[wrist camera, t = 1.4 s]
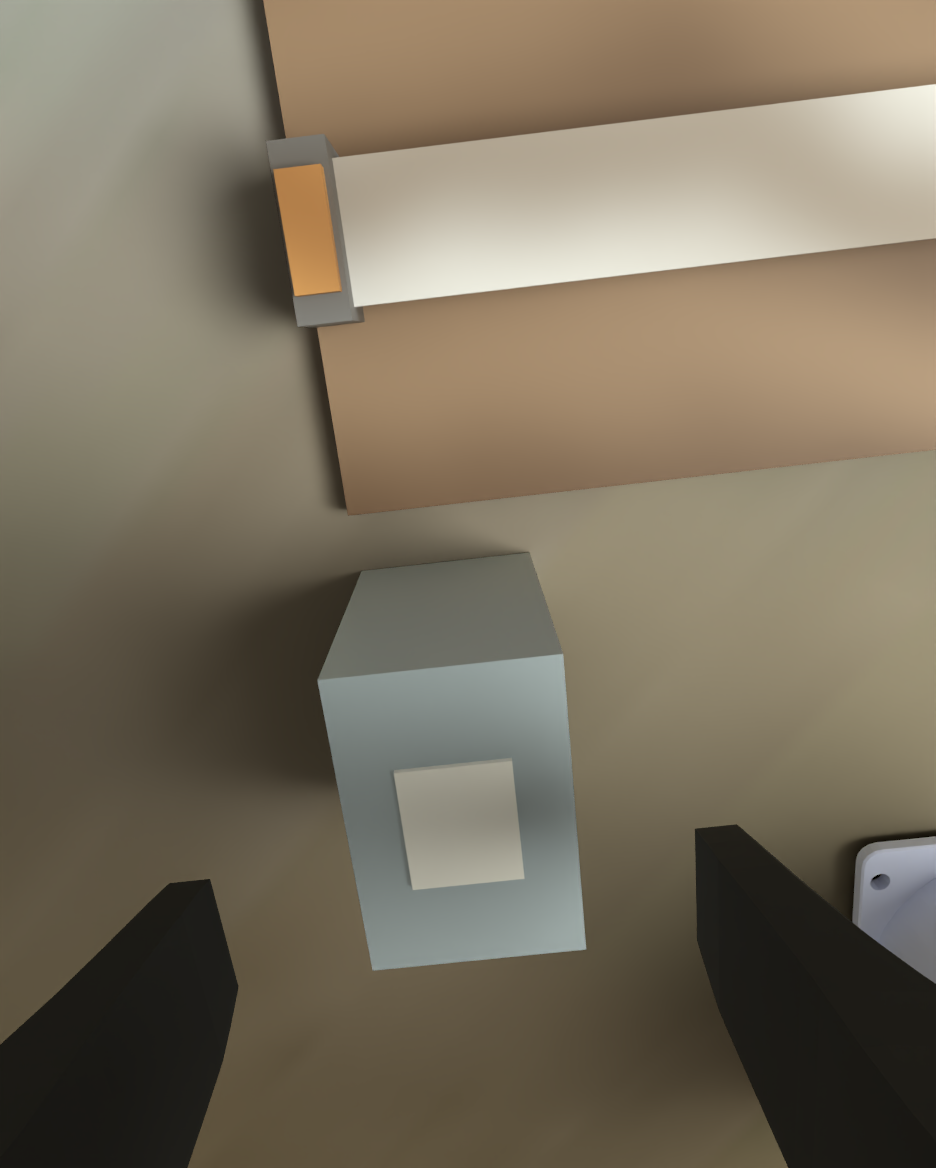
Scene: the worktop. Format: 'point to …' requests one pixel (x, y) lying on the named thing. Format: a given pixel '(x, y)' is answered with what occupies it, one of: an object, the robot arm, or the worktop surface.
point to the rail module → (455, 763)
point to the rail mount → (608, 236)
